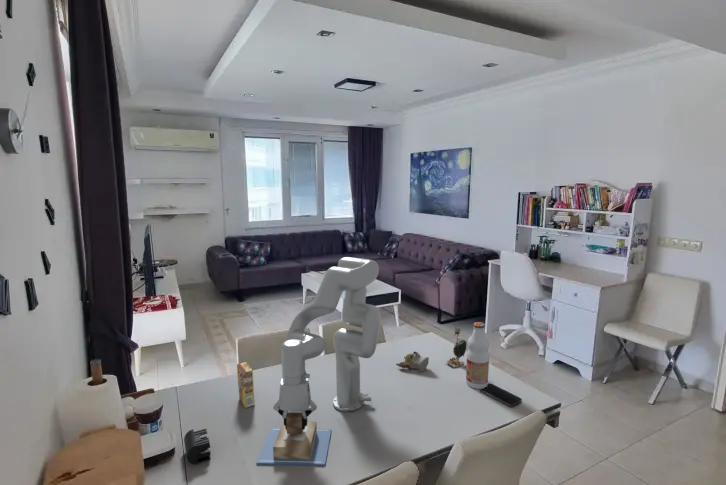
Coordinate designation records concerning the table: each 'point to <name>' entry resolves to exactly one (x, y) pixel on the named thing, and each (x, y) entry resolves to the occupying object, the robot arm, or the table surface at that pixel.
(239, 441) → the table surface
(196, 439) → the end cap
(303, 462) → the blueprint board
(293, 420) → the walnut block
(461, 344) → the plant with pod
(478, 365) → the fruit juice
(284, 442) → the oak base block
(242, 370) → the candy box
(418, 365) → the ceramic sculpture
